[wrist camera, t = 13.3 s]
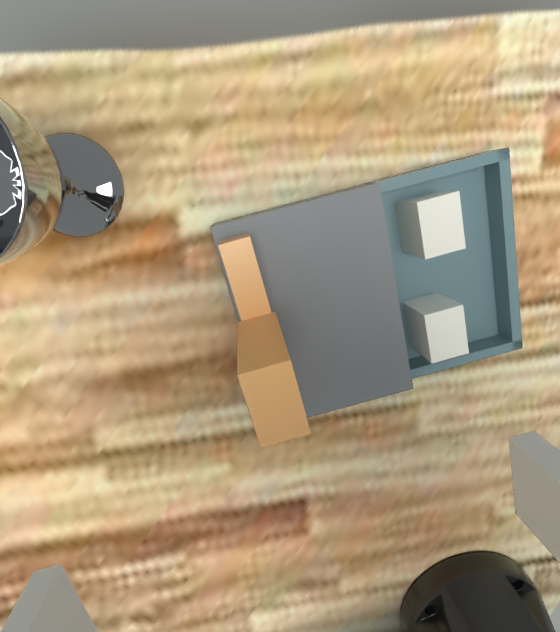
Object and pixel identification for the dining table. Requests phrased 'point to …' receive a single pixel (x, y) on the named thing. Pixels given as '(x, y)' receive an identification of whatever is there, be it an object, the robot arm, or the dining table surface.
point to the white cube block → (436, 327)
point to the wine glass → (51, 185)
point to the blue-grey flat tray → (463, 255)
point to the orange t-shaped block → (262, 351)
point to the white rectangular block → (431, 224)
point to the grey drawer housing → (331, 294)
